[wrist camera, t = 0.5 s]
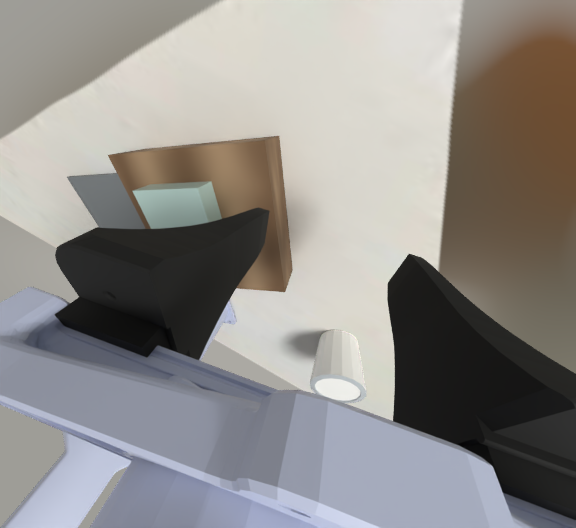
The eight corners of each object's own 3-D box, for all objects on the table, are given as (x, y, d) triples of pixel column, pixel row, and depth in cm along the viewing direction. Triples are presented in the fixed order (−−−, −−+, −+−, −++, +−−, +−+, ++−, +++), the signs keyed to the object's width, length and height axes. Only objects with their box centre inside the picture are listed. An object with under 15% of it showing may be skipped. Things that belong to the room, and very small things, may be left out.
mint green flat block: (187, 267, 23) (176, 278, 22) (150, 184, 18) (132, 190, 17) (236, 270, 22) (228, 282, 20) (211, 181, 17) (197, 188, 15)
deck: (192, 264, 29) (173, 283, 25) (144, 149, 21) (107, 155, 18) (292, 270, 25) (284, 292, 22) (279, 136, 18) (264, 140, 14)
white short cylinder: (306, 335, 32) (298, 381, 27) (344, 320, 29) (344, 370, 23) (333, 359, 34) (331, 407, 29) (372, 348, 31) (378, 400, 25)
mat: (116, 249, 30) (114, 250, 30) (69, 176, 25) (66, 177, 24) (186, 252, 28) (184, 253, 27) (151, 170, 22) (149, 171, 22)
